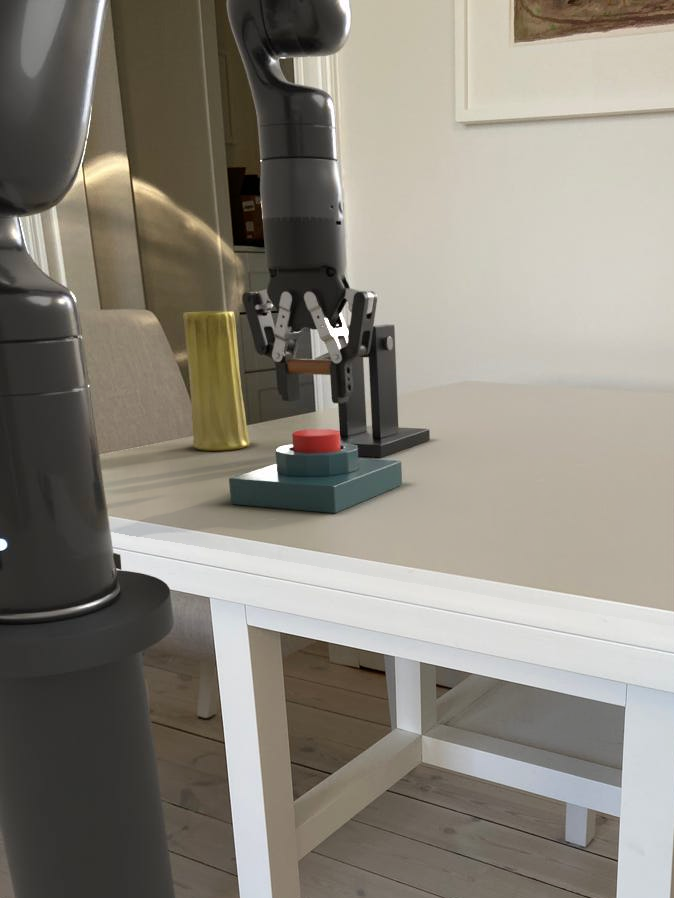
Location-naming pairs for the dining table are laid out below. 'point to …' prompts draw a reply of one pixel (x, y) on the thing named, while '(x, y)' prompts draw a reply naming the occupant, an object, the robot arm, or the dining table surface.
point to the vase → (215, 381)
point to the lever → (312, 365)
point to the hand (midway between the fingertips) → (315, 400)
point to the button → (316, 440)
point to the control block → (316, 480)
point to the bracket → (377, 403)
